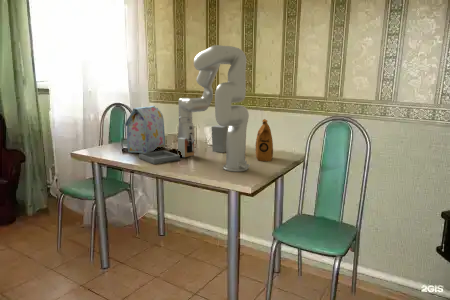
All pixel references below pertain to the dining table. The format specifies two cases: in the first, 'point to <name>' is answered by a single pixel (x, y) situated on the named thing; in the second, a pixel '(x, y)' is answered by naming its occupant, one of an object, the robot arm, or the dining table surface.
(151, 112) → the lunch bag
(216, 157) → the dining table surface
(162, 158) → the tray
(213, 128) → the skincare box
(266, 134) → the coffee package
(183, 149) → the small box
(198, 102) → the robot arm
